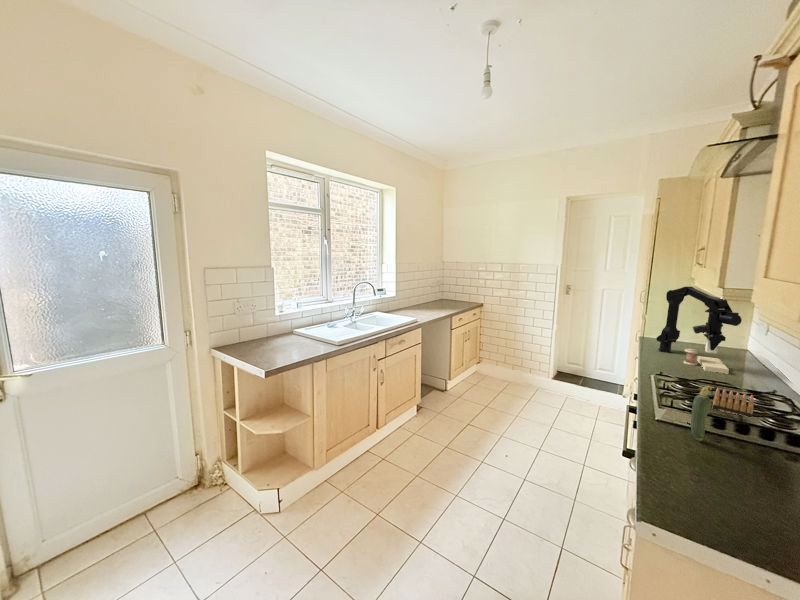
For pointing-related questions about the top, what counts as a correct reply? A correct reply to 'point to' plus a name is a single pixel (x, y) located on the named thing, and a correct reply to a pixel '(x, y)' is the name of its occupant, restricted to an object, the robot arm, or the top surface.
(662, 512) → the top surface
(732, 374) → the top surface
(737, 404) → the ammunition clip
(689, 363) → the bobbin
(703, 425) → the vegetable
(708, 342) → the block
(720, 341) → the robot arm
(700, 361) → the notched board
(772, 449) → the top surface
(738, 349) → the top surface
